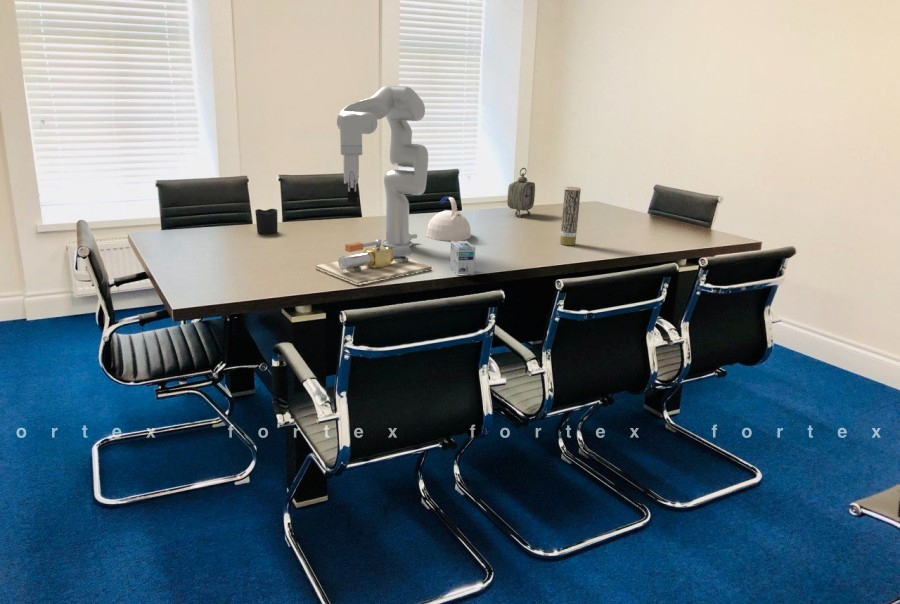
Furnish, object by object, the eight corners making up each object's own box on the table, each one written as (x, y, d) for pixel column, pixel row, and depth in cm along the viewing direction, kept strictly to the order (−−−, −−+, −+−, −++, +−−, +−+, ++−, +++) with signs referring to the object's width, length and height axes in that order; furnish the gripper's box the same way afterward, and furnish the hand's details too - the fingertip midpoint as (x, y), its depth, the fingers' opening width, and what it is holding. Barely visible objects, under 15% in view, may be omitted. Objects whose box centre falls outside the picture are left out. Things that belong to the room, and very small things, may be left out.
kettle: (437, 243, 300) (438, 201, 294) (419, 232, 317) (420, 193, 312) (478, 240, 308) (480, 199, 302) (459, 230, 325) (461, 192, 320)
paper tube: (564, 241, 310) (569, 186, 302) (577, 244, 306) (583, 188, 298) (557, 244, 304) (562, 187, 296) (571, 246, 301) (576, 189, 293)
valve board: (388, 255, 275) (388, 252, 275) (431, 270, 258) (431, 266, 257) (315, 269, 253) (315, 265, 253) (357, 286, 235) (357, 282, 235)
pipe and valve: (402, 258, 266) (402, 239, 264) (412, 262, 262) (412, 242, 260) (337, 271, 246) (336, 250, 244) (346, 275, 242) (346, 253, 240)
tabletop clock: (520, 218, 356) (524, 169, 348) (505, 216, 360) (508, 168, 352) (533, 214, 367) (536, 167, 359) (518, 212, 372) (521, 165, 364)
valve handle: (345, 250, 244) (345, 244, 243) (378, 244, 254) (378, 238, 253) (349, 252, 242) (349, 246, 241) (382, 245, 252) (382, 239, 252)
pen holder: (270, 235, 301) (269, 213, 298) (252, 233, 303) (251, 211, 300) (282, 231, 309) (281, 209, 306) (264, 229, 312) (263, 207, 309)
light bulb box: (474, 275, 253) (476, 246, 250) (457, 276, 252) (458, 247, 248) (466, 267, 263) (467, 240, 260) (449, 268, 261) (450, 240, 258)
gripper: (340, 147, 247) (342, 198, 253) (340, 152, 233) (341, 206, 239) (361, 147, 248) (362, 198, 254) (362, 153, 234) (363, 206, 240)
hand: (352, 202), depth 247 cm, fingers closed
